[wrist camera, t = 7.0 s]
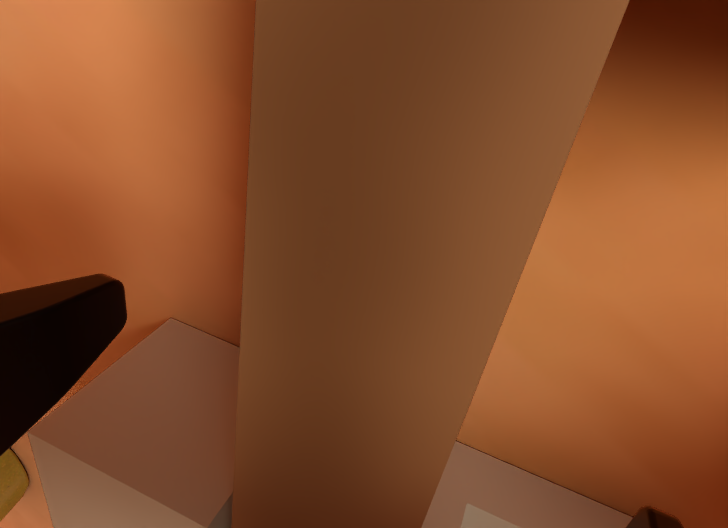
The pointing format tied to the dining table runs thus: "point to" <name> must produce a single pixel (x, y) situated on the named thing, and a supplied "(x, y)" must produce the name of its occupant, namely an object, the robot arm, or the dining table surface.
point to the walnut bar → (390, 235)
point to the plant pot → (11, 482)
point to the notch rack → (230, 452)
